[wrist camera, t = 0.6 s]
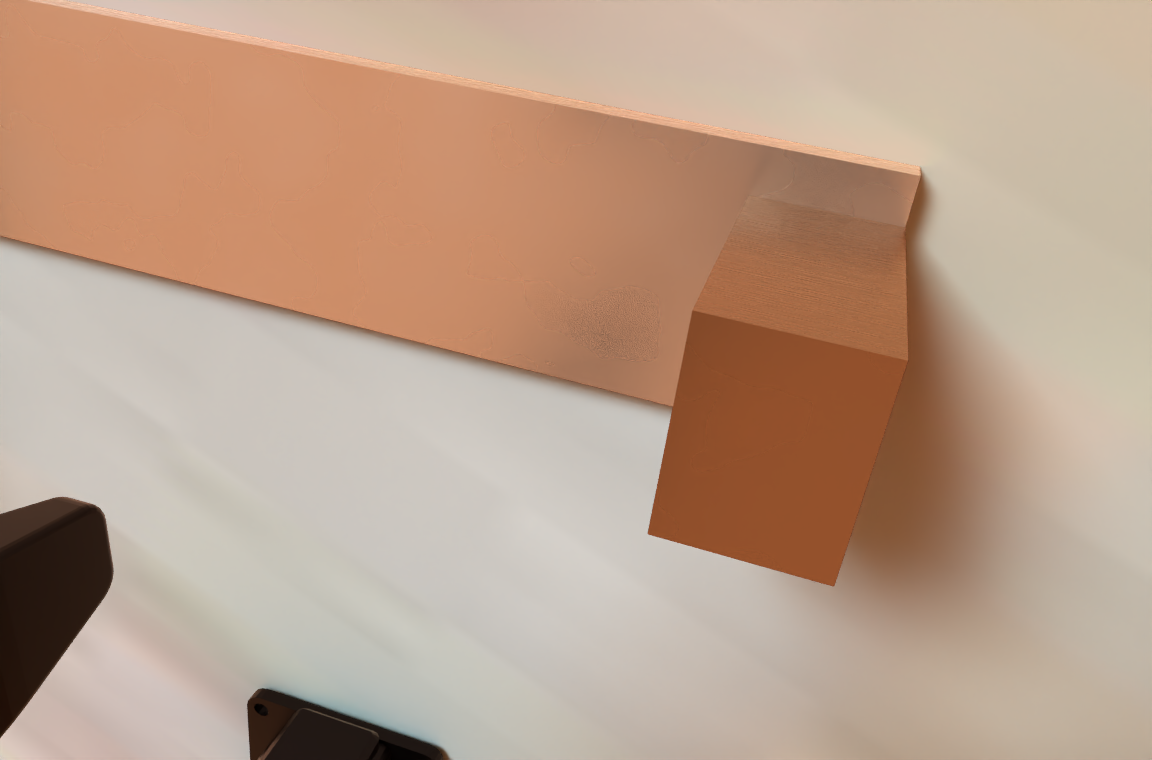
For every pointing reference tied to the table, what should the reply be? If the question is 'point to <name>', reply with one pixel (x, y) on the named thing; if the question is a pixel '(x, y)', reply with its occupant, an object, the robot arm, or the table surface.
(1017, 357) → the table surface
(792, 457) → the copper plank with block
